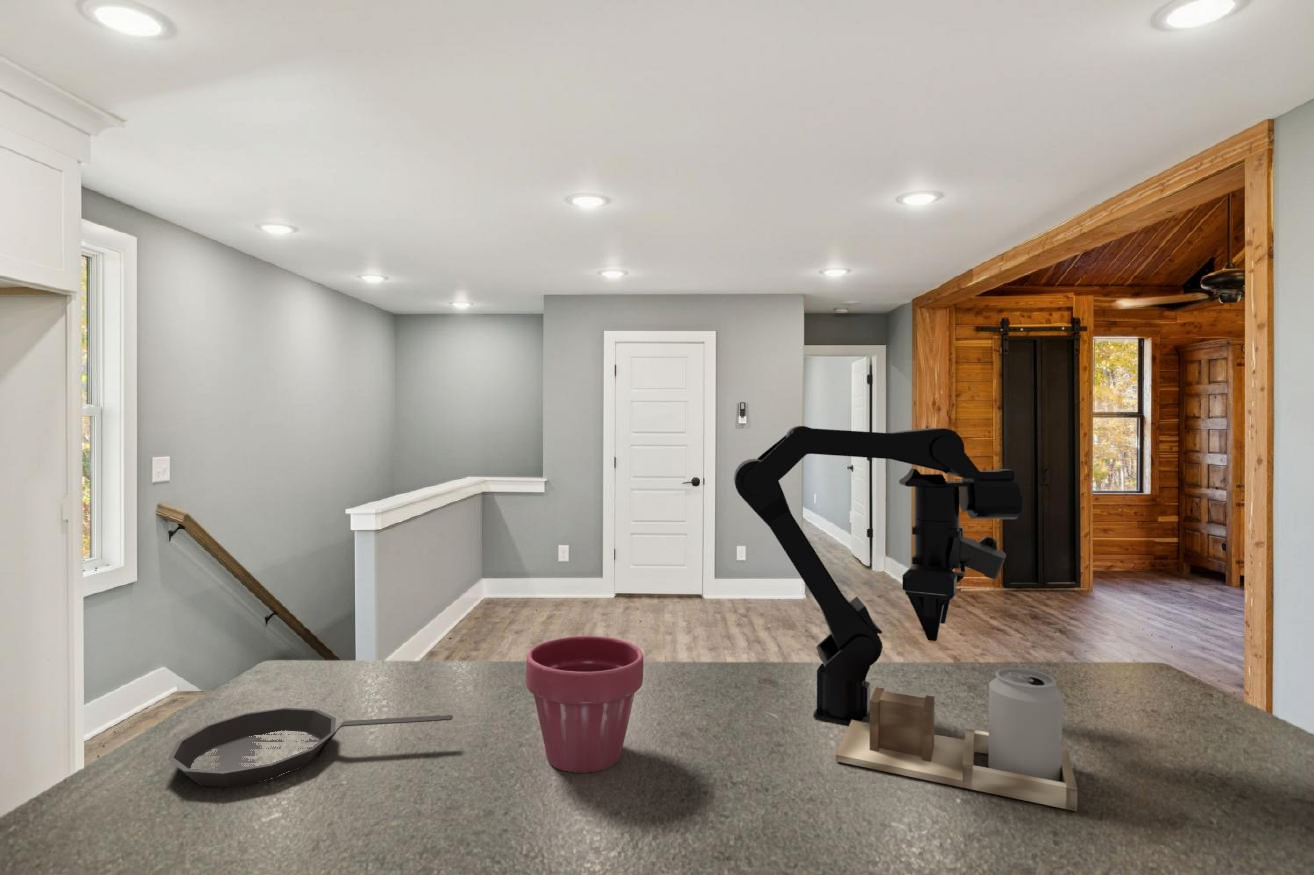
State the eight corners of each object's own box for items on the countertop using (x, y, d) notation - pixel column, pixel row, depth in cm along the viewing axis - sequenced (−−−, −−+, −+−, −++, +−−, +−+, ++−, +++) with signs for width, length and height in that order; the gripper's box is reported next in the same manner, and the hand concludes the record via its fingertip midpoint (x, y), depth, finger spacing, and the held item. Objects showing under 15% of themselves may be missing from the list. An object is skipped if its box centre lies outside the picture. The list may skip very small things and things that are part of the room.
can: (1069, 800, 76) (1071, 690, 76) (993, 789, 78) (995, 682, 78) (1051, 767, 83) (1053, 667, 83) (983, 758, 85) (984, 661, 85)
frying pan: (213, 730, 93) (212, 702, 92) (462, 716, 97) (461, 690, 97) (132, 803, 75) (132, 768, 75) (441, 782, 80) (441, 749, 80)
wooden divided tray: (835, 761, 84) (835, 704, 84) (851, 725, 94) (852, 675, 94) (1077, 811, 73) (1077, 746, 73) (1066, 765, 83) (1067, 708, 83)
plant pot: (661, 743, 89) (662, 643, 89) (608, 796, 76) (608, 679, 76) (566, 722, 95) (566, 629, 95) (501, 768, 82) (501, 660, 82)
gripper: (998, 532, 84) (998, 660, 85) (1004, 514, 101) (1004, 622, 101) (901, 526, 90) (901, 647, 90) (923, 510, 106) (923, 612, 106)
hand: (936, 631), depth 97 cm, fingers open, 9 cm apart
